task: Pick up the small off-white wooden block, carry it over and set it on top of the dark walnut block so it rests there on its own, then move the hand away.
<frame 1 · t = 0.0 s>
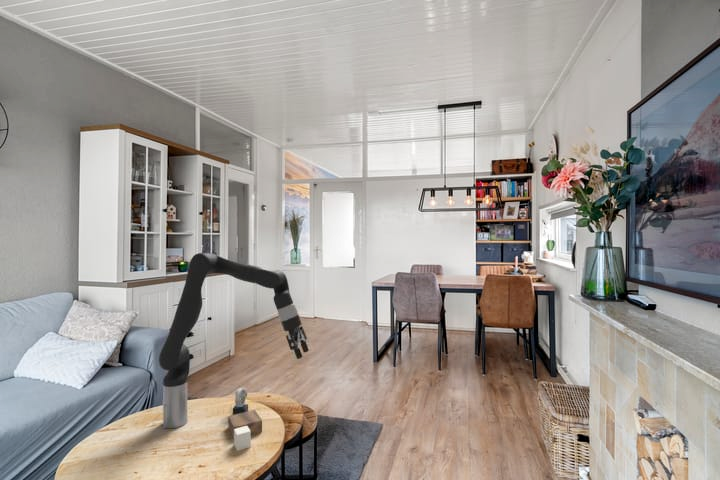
hand: (303, 354, 151), 31 cm above the table, tool tilted 20°, fingers open, 8 cm apart
cream block: (242, 445, 141), on the table
watch: (240, 413, 168), on the table
walnut block: (245, 430, 154), on the table
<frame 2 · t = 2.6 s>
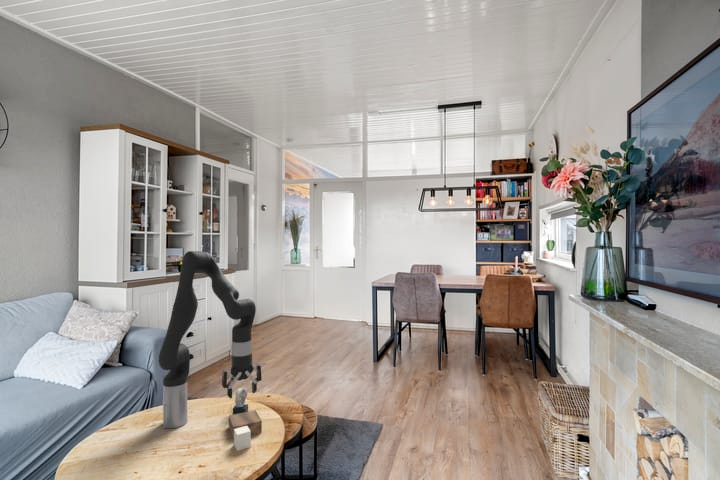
hand: (242, 395, 141), 19 cm above the table, tool pointing down, fingers open, 8 cm apart
nothing on the table moved.
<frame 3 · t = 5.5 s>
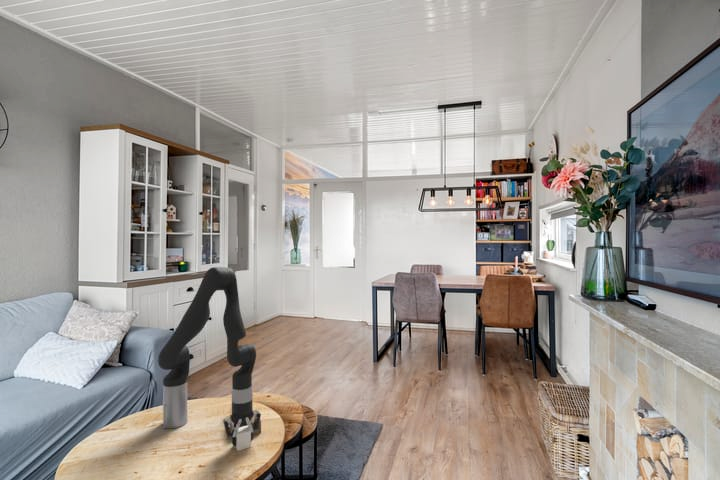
hand: (242, 443, 141), 1 cm above the table, tool pointing down, fingers closed on cream block, 5 cm apart
cream block: (242, 445, 141), on the table, touching gripper
everything else where it was.
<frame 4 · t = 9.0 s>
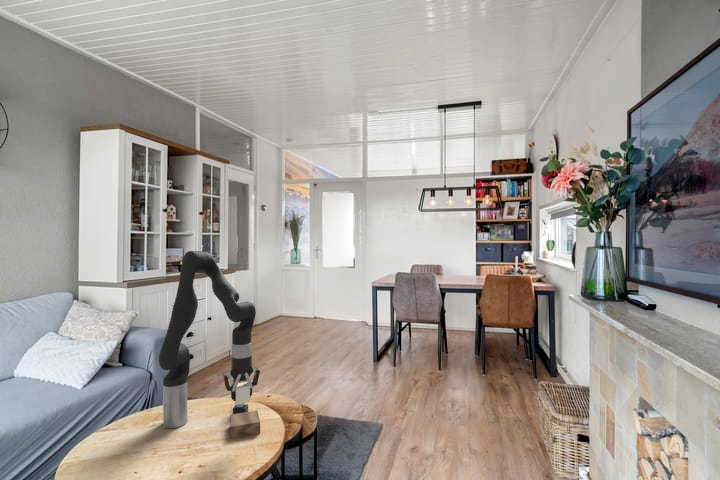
hand: (241, 398, 143), 17 cm above the table, tool pointing down, fingers closed on cream block, 5 cm apart
cream block: (241, 401, 143), point 16 cm above the table, touching gripper
everything else where it was.
when the fingers open (7 cm above the table, at t = 13.0 s): cream block drops 2 cm, resting on walnut block.
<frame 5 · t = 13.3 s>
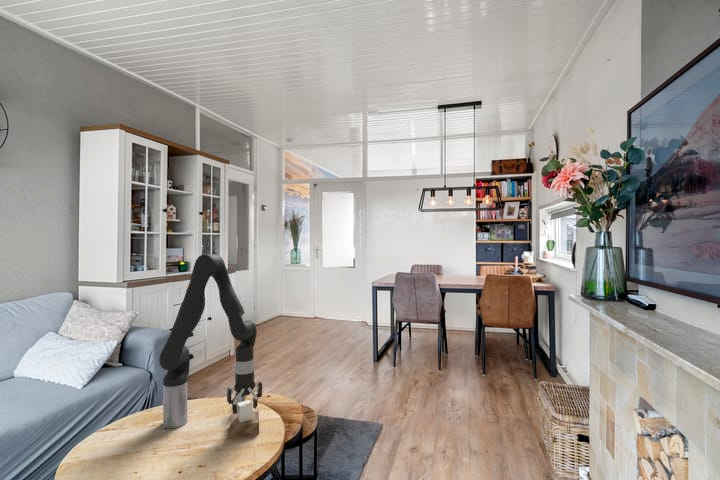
hand: (244, 410, 154), 8 cm above the table, tool pointing down, fingers open, 7 cm apart
cream block: (244, 418, 154), point 5 cm above the table, touching walnut block
walnut block: (245, 430, 154), on the table, touching cream block
everything else where it was.
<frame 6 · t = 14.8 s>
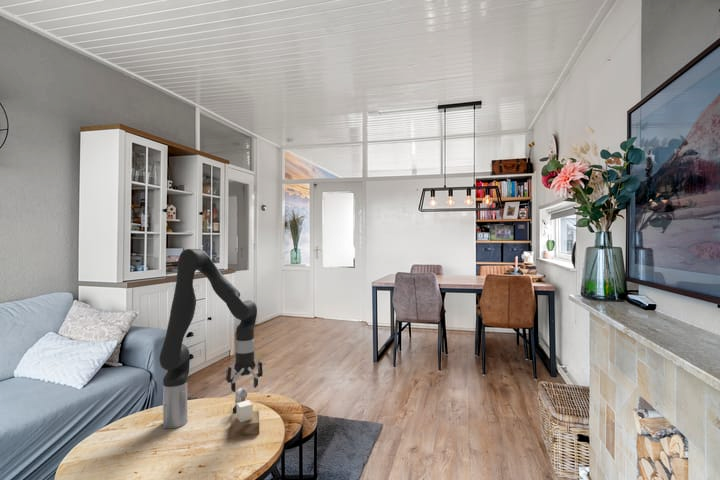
hand: (244, 389, 154), 17 cm above the table, tool pointing down, fingers open, 8 cm apart
nothing on the table moved.
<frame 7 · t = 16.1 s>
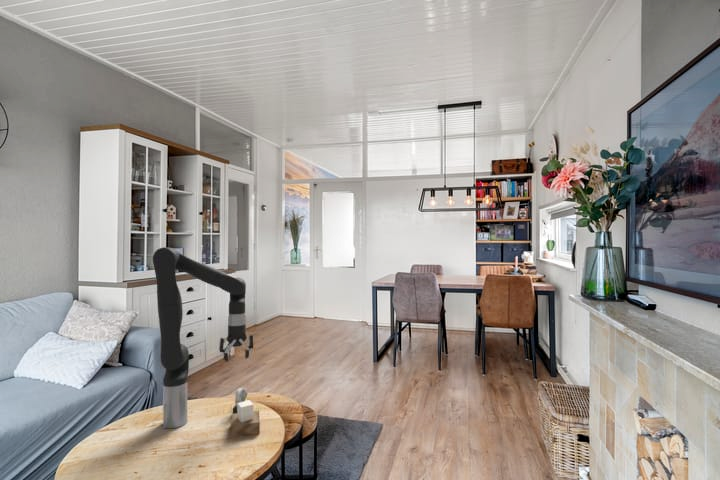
hand: (236, 359, 166), 25 cm above the table, tool pointing down, fingers open, 8 cm apart
cream block: (245, 418, 154), point 5 cm above the table
walnut block: (245, 430, 154), on the table
everything else where it was.
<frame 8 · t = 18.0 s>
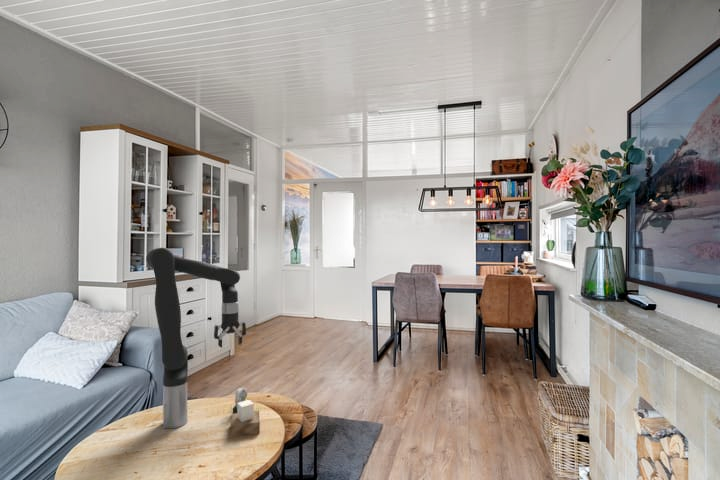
hand: (230, 345, 177), 28 cm above the table, tool pointing down, fingers open, 8 cm apart
nothing on the table moved.
at the end: cream block 0.2 cm off-centre on the walnut block, point 5.0 cm above the walnut block's base; cream block tilted 0°; the gripper is holding nothing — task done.
